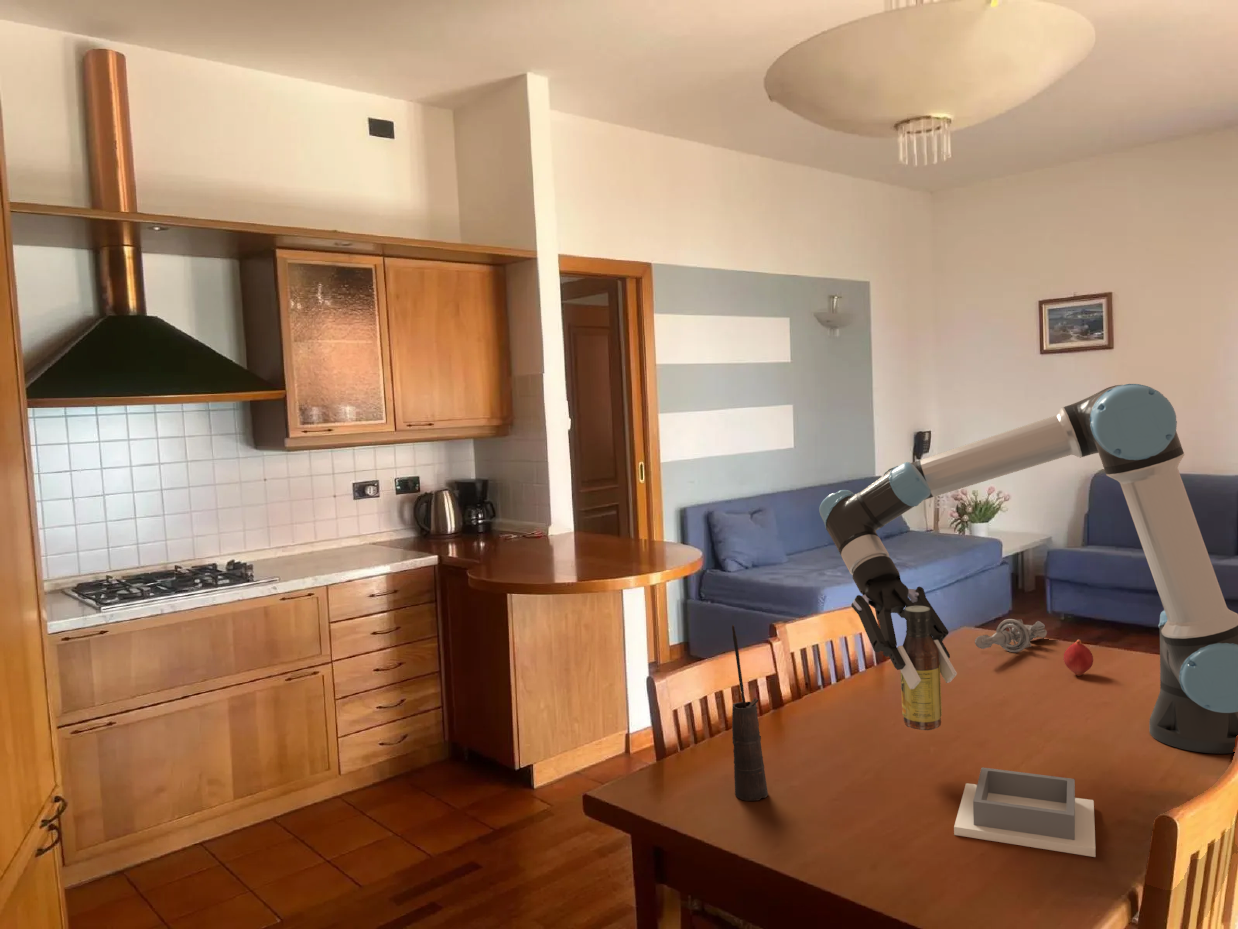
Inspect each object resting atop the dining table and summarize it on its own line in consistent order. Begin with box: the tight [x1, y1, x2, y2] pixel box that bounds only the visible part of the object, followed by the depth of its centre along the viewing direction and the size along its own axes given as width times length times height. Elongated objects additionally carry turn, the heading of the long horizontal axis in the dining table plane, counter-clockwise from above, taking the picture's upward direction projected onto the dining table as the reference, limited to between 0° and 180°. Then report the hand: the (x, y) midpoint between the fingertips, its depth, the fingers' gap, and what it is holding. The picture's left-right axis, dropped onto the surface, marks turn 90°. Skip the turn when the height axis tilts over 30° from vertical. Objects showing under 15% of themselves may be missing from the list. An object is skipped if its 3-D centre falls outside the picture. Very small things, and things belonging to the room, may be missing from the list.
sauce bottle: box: [899, 606, 943, 731], centre depth 152 cm, size 6×6×20 cm
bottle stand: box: [953, 766, 1096, 858], centre depth 135 cm, size 18×16×5 cm
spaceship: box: [974, 618, 1048, 654], centre depth 220 cm, size 8×35×8 cm
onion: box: [1063, 639, 1094, 677], centre depth 200 cm, size 6×6×8 cm
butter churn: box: [731, 624, 769, 802], centre depth 149 cm, size 9×10×28 cm
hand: (933, 681), depth 149 cm, fingers closed on sauce bottle, 6 cm apart
